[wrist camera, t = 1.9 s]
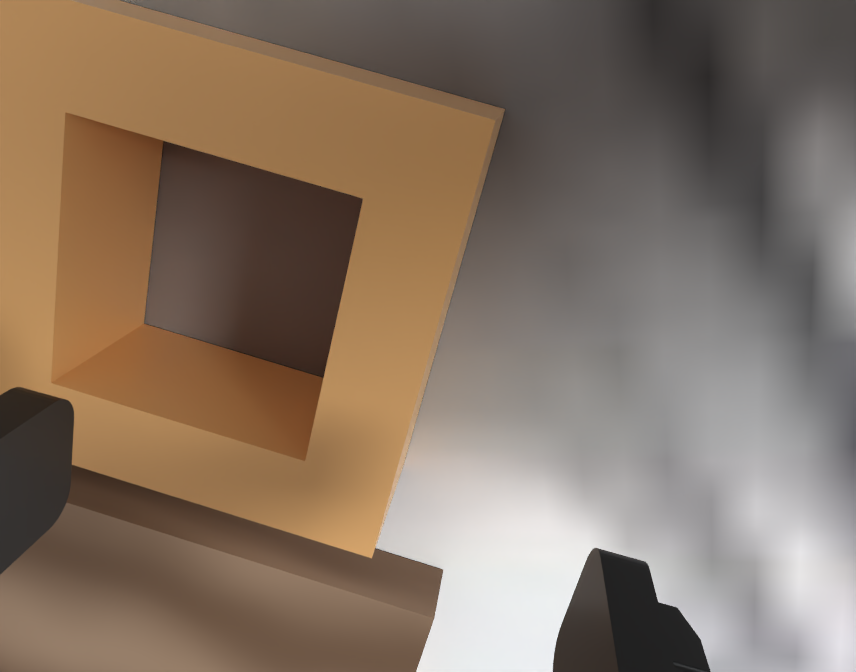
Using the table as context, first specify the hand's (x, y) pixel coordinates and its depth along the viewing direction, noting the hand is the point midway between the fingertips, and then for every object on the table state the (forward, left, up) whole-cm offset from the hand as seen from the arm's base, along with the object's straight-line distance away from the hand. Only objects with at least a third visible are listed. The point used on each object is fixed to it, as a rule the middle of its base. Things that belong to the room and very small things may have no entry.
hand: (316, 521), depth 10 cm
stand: (+15, -4, -8) cm, 18 cm away
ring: (-1, -4, -8) cm, 9 cm away
